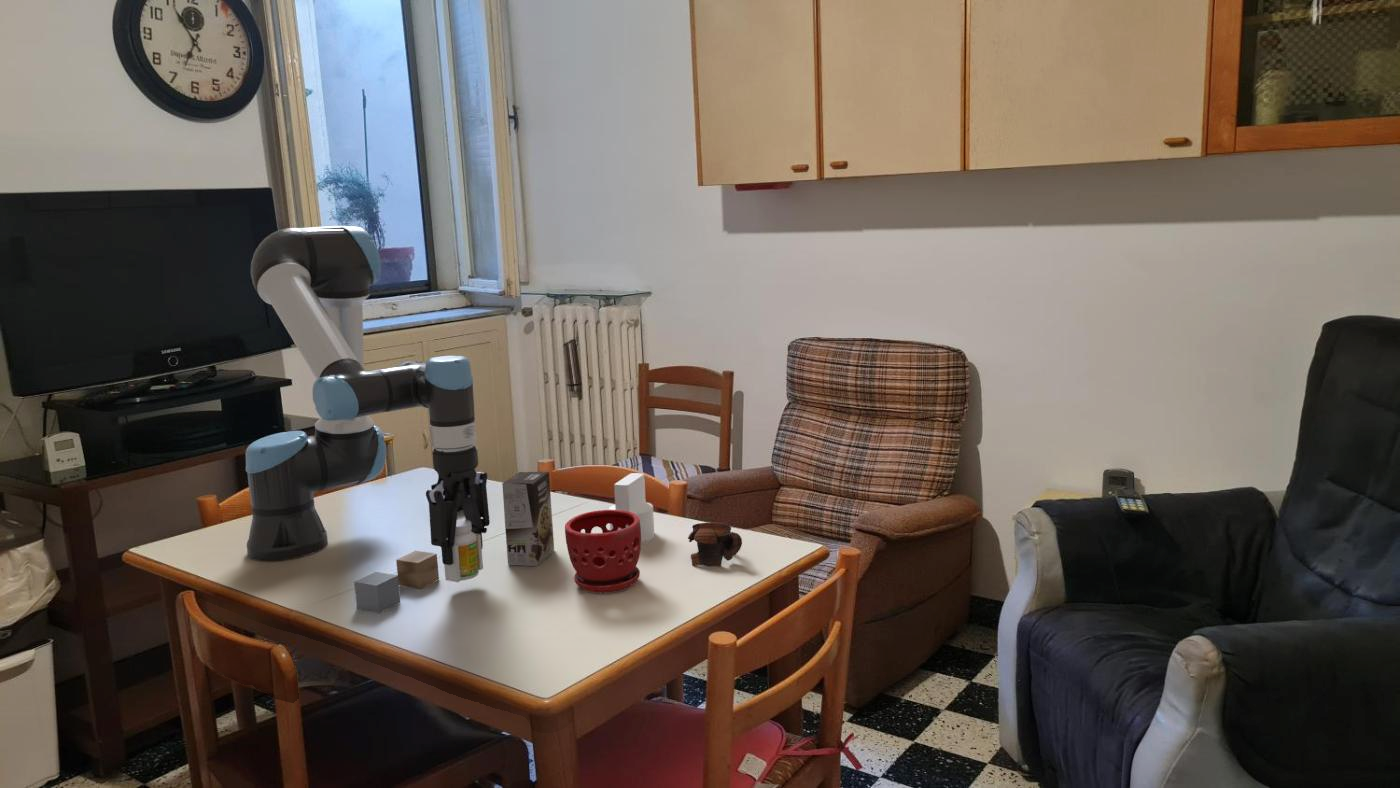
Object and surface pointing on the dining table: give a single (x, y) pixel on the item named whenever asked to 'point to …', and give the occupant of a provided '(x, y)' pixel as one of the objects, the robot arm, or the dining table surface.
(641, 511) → the base with upright slab
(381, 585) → the slate block
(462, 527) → the supplement bottle
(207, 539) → the dining table surface
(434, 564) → the walnut block
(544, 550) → the coffee box
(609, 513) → the plant pot
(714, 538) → the pottery mug
